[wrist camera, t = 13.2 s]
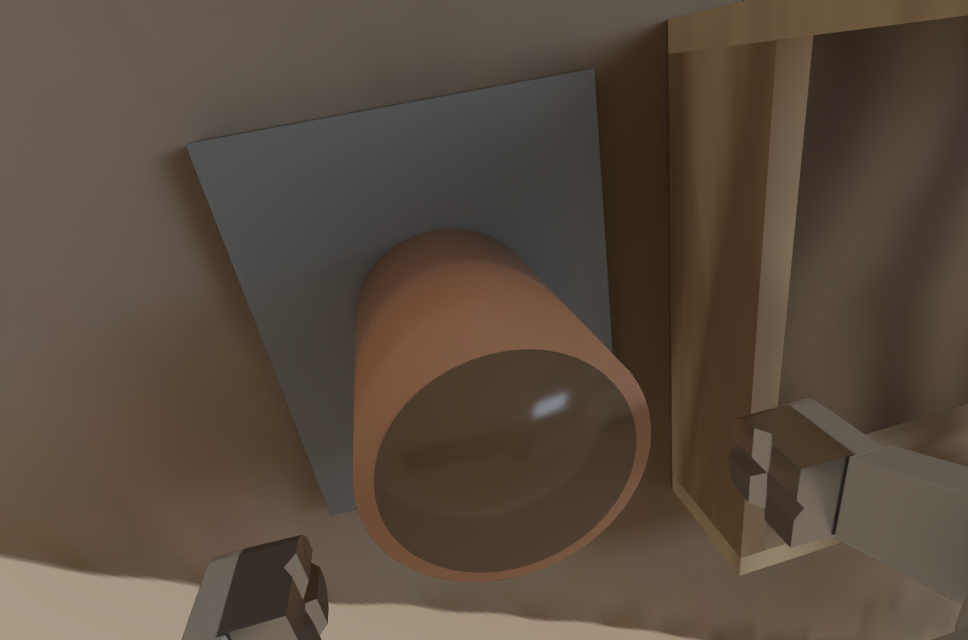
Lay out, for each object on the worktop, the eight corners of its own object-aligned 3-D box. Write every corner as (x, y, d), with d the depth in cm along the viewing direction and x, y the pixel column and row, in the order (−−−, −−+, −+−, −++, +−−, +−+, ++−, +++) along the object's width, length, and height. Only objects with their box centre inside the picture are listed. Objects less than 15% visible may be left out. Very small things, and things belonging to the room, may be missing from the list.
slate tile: (581, 70, 17) (594, 68, 16) (608, 422, 23) (618, 435, 22) (195, 141, 15) (185, 144, 14) (332, 498, 21) (330, 515, 20)
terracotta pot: (526, 209, 17) (649, 296, 10) (548, 374, 20) (657, 536, 13) (331, 253, 16) (309, 382, 9) (382, 418, 19) (396, 619, 12)
